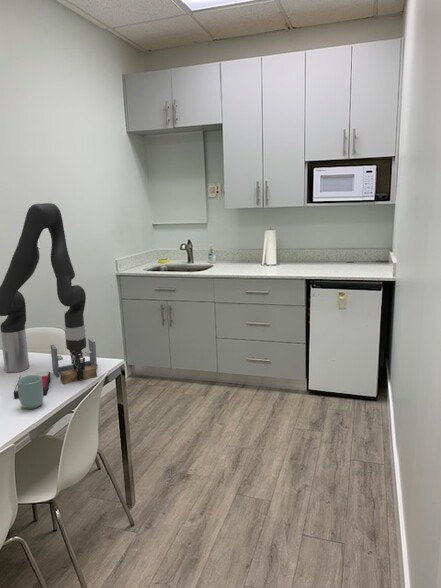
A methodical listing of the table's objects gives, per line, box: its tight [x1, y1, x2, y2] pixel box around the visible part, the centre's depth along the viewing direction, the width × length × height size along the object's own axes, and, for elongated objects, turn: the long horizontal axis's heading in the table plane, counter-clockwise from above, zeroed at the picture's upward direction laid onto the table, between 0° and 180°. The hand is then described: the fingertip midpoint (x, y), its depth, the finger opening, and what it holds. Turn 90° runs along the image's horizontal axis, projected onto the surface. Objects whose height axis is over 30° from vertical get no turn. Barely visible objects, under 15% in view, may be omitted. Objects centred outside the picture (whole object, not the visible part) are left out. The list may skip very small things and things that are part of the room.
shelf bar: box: [59, 365, 98, 385], centre depth 175 cm, size 13×4×4 cm, turn 123°
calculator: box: [13, 371, 52, 400], centre depth 166 cm, size 11×4×15 cm
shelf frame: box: [50, 337, 98, 378], centre depth 182 cm, size 17×6×12 cm, turn 123°
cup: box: [16, 375, 44, 409], centre depth 151 cm, size 8×8×10 cm
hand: (79, 377), depth 175 cm, fingers closed on shelf bar, 4 cm apart
